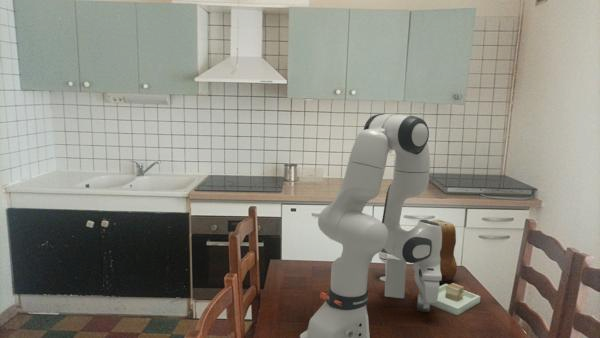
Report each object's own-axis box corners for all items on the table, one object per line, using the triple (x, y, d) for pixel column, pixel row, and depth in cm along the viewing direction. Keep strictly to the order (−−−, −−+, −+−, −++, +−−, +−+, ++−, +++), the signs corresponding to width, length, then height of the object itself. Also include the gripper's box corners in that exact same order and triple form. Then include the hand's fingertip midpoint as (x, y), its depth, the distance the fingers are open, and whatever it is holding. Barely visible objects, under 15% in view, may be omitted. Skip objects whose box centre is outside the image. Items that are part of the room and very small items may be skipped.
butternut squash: (451, 275, 184) (455, 217, 181) (459, 288, 171) (464, 226, 167) (417, 272, 186) (421, 215, 182) (423, 285, 173) (427, 224, 169)
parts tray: (457, 315, 149) (457, 308, 148) (421, 301, 159) (422, 294, 159) (479, 302, 159) (480, 296, 159) (445, 289, 169) (445, 283, 169)
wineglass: (393, 276, 181) (395, 248, 180) (394, 282, 175) (396, 254, 173) (377, 274, 182) (378, 247, 180) (377, 281, 176) (379, 252, 174)
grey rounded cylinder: (425, 313, 150) (426, 299, 149) (414, 308, 153) (415, 295, 152) (432, 309, 153) (433, 296, 152) (421, 305, 156) (422, 291, 155)
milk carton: (404, 299, 160) (407, 249, 157) (384, 296, 162) (387, 247, 159) (403, 291, 167) (406, 243, 164) (384, 289, 169) (387, 241, 166)
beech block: (456, 301, 157) (457, 290, 157) (445, 297, 161) (446, 286, 160) (463, 298, 160) (464, 286, 159) (451, 294, 164) (452, 282, 163)
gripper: (411, 255, 161) (409, 290, 163) (423, 277, 141) (420, 317, 143) (429, 256, 160) (426, 291, 163) (443, 278, 140) (440, 318, 142)
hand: (423, 303), depth 152 cm, fingers closed on grey rounded cylinder, 4 cm apart
